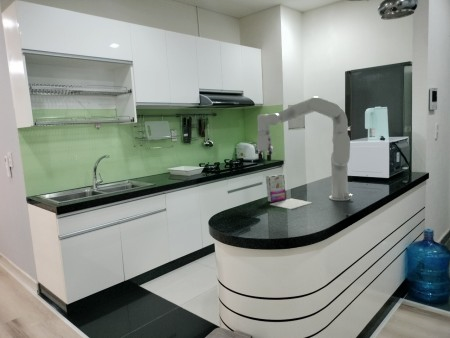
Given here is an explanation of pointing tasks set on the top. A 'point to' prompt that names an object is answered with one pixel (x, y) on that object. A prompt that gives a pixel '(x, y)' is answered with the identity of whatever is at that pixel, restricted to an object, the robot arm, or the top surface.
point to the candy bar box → (275, 188)
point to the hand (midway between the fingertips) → (264, 160)
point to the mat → (291, 203)
